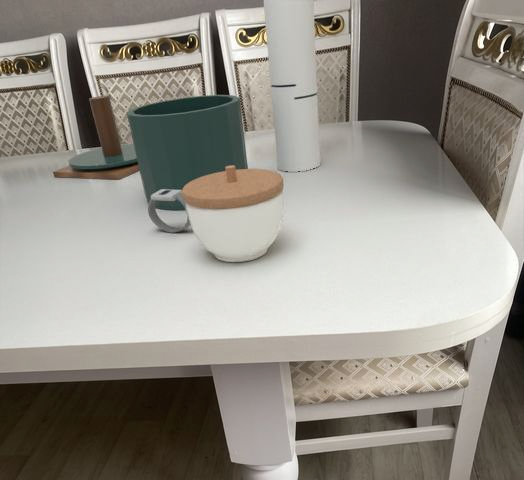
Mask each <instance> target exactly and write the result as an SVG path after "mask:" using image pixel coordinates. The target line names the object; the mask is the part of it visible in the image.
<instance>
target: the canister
mask: <svg viewBox="0 0 524 480" xmlns="http://www.w3.org/2000/svg"><path fill="white" fill-rule="evenodd" d="M126 116H127V122H128V125H129V130H130V134H131V139H132V142H133V143H132V144H134V148H135V153H136V157H137V162H138V166H139V174H140V178H141V184H142V187H143V192H144V197H145V199H146V203H147V204H148V205H149V202H150V199H151V195H152V194H154V193H156V192H158V191H159V190H161V189H170V190H182V189H183V188H184V186H185V185H186V184H188V183H189V182H191V181H193V180H195V179H197V178H200V177H202V176H206V175H209V174H213V173H218V172H223V171H226V169H225V167H226V166H231V165H233V166H235V170H239V169H249V166H248V165H249V164H248V158H247V149H246V148H247V147H246V138H245V131H244V122H243V114H242V105H241V97H239V96H236V95H232V94H211V95H210V94H208V95H196V96H186V97H180V98H173V99H166V100H160V101H156V102H151V103H147V104H143V105H140V106H137V107H133V108H131V109H130V110H128V111H126ZM155 209H160V210H166V211H186V210H185V208H184V206H183V205H182V204H181V202H180V201H179V200H178V199H176V200H175V201H160V200H156V203H155Z"/></svg>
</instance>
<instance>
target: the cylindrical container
mask: <svg viewBox="0 0 524 480" xmlns="http://www.w3.org/2000/svg"><path fill="white" fill-rule="evenodd" d="M314 7H315V6H314V0H263V10H264V11H263V12H264V21H265V22H264V23H265V24H264V25H265V33H266V45H267V57H268V69H269V70H268V71H269V80H270V93H271V105H272V115H273V116H272V117H273V127H274V140H275V152H276V163H277V170H279V171H281V170H282V171H281V172H285V171H288V172H287V173H299V172H298V171H300V172H307V171H311V170H314V169H313V168H315V169H316V167H317V168H319V167H320V166H321V149H320V148H321V146H320V125H319V121H320V120H319V101H318V77H317V76H318V75H317V52H316V51H317V49H316V31H315V8H314ZM318 166H319V167H318ZM310 169H311V170H310ZM306 170H307V171H306Z"/></svg>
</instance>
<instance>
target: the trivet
mask: <svg viewBox="0 0 524 480" xmlns="http://www.w3.org/2000/svg"><path fill="white" fill-rule="evenodd" d="M137 172H140V170H139V166H138V162H136V163H133V164H130V165H126V166H121V167H116V168H109V169H96V170H93V169H76V168H72V167H70V166H69V165H67V166H64V167H62V168H59V169H56V170H53V171H52V174H53V177H54V178H66V177H76V178H75V179H93V180H94V179H95V180H97V179H98V180H116V181H117V180H121V179H123V178H126V177H129V176H130V175H132V174H134V173H137Z"/></svg>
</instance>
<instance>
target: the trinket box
mask: <svg viewBox="0 0 524 480" xmlns="http://www.w3.org/2000/svg"><path fill="white" fill-rule="evenodd" d="M225 169H226V171H223V172H218V173H213V174H209V175H206V176H202V177H200V178H197V179H195V180H193V181H191V182H189V183H188V184H186V185H185V186H184V188H183V189H182V195H183V199H184V201H185V204H186V210H187V212H186V215H187V214H188V218H189V221H190V224H191V225H190V227H191V229H192V231H193V234H194V236H195V238H196V239H197V241H198V243H200V245H202V247H203V248H204V249H206V250H207V251H208V252H209V253H211V254H213V255H214V257H215V258H216V259H217V260H218V261H221V262H225V263H226V262H227V263H243V262H249V261H254V260H256V259H259V258H261V257H262V256H264V255H265V254H267V253H268V251H269V248H270V246H271V245H272V244H273V243H274V242H275V241H276V239H277V237H278V235H279V233H280V231H281V228H282V225H283V218H284V209H285V203H284V178H283V176H282V175H281V174H280V173H279V172H277V171H273V170H268V169H261V168H260V169H259V168H248V169H239V170H235V166H233V165H231V166H226V167H225ZM186 210H185V211H186Z"/></svg>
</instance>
